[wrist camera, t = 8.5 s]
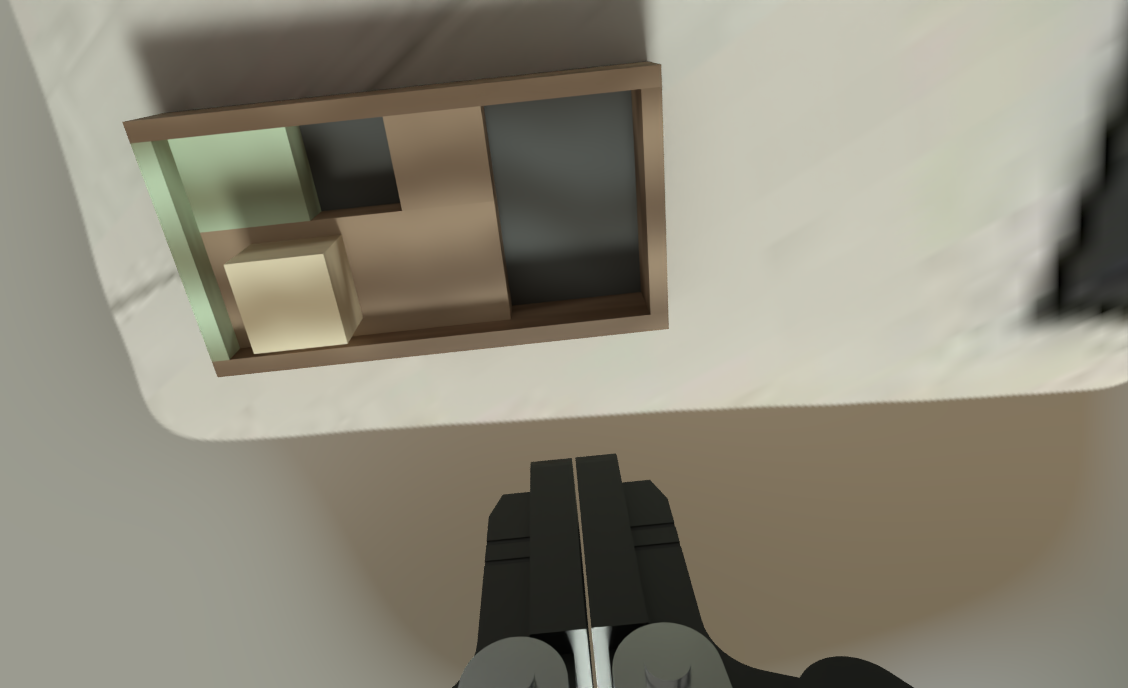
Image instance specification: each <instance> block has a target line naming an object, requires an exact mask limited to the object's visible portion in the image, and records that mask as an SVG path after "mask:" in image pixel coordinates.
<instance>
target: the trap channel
mask: <svg viewBox="0 0 1128 688" xmlns="http://www.w3.org/2000/svg"><path fill="white" fill-rule="evenodd" d="M123 125H124V128H125V130H126V133H127V136H128V138H129V141H130V144H131V147H132V149H133V152H134V155H135V157H136V160H137V163H138V165H139V168H140V171H141V173H142V176H143V179H144V181H145V184H146V187H147V189H148V192H149V195H150V197H151V200H152V203H153V205H154V208H155V211H156V213H157V216H158V219H159V221H160V224H161V227H162V229H163V232H164V235H165V237H166V240H167V243H168V245H169V248H170V251H171V253H172V256H173V259H174V261H175V264H176V267H177V269H178V272H179V275H180V278H181V280H182V283H183V286H184V288H185V291H186V294H187V296H188V299H189V302H190V304H191V307H192V310H193V312H194V315H195V318H196V320H197V323H198V326H199V328H200V331H201V334H202V336H203V339H204V342H205V344H206V347H207V350H208V352H209V355H210V358H211V360H212V363H213V366H214V368H215V371H216V374H217V376H218V377H224V376H234V375H243V374H252V373H262V372H271V371H280V370H290V369H299V368H308V367H317V366H327V365H336V364H345V363H355V362H364V361H373V360H383V359H392V358H401V357H411V356H420V355H429V354H439V353H448V352H457V351H467V350H476V349H485V348H495V347H504V346H513V345H523V344H532V343H541V342H551V341H560V340H569V339H579V338H588V337H597V336H606V335H616V334H625V333H634V332H644V331H653V330H662V329H669V323H668V288H667V253H666V218H665V183H664V148H663V113H662V78H661V64H657V63H652V62H648V61H646V62H637V63H628V64H618V65H609V66H600V67H590V68H581V69H572V70H562V71H553V72H544V73H534V74H525V75H516V76H506V77H497V78H488V79H478V80H469V81H459V82H450V83H441V84H431V85H422V86H413V87H403V88H394V89H385V90H375V91H366V92H357V93H347V94H338V95H329V96H319V97H310V98H300V99H291V100H282V101H272V102H263V103H254V104H244V105H235V106H226V107H216V108H207V109H198V110H188V111H179V112H170V113H162V114H158V115H153V116H148V117H144V118H139V119H134V120H130V121H125V122H123ZM340 234H342V238H343V242H344V246H345V250H346V253H347V257H348V261H349V265H350V269H351V273H352V277H353V281H354V285H355V289H356V293H357V297H358V301H359V305H360V308H361V312H362V316H363V319H362V320H361V322H360V324H359V325H358V327H357V329H356V330H355V332H354V334H353V335H352V337H351V339H350V341H349V342H348V344H341V345H332V346H323V347H314V348H305V349H295V350H286V351H277V352H268V353H259V354H254V352H253V349H252V346H251V344H250V341H249V338H248V335H247V332H246V329H245V326H244V323H243V320H242V317H241V314H240V312H239V309H238V306H237V303H236V300H235V297H234V294H233V291H232V288H231V285H230V282H229V279H228V277H227V274H226V271H225V268H224V264H225V263H227V262H228V261H229V260H231V259H232V258H233V257H235V256H236V255H237V254H239V253H240V252H241V251H243V250H244V249H245V248H247V247H248V246H249V245H251V244H258V243H267V242H276V241H285V240H295V239H304V238H313V237H322V236H331V235H340Z"/></svg>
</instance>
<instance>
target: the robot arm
mask: <svg viewBox="0 0 1128 688" xmlns="http://www.w3.org/2000/svg"><path fill="white" fill-rule="evenodd" d="M575 459H576V469H577V479H578V491H579V501H580V512H581V523H582V533H583V544H584V554H585V564H586V575H587V586H588V596H589V607H590V617H591V628H592V637H593V647H594V657H595V667H596V676H597V685H598V688H913V687H912V686H910V685H909V684H907V683H906V682H904V681H902V680H901V679H900V678H898V677H896V676H895V675H893V674H892V673H890V672H889V671H887V670H885V669H883V668H882V667H880V666H878V665H876V664H873V663H871V662H868V661H865V660H862V659H859V658H853V657H843V656H836V657H829V658H825V659H822V660H819V661H817V662H815V663H813V664H812V665H810V666H809V667H808V668H807V669H806V670H805V671H804V672H803V674H802V675H801V677H800V678H798V677H793V676H787V675H783V674H778V673H773V672H768V671H764V670H759V669H756V668H752V667H750V666H747V665H744V664H742V663H740V662H738V661H736V660H735V659H733V658H731V657H730V656H728V655H727V654H726V653H724V652H723V651H722V650H721V649H720V648H719V647H718V646H717V645H716V644H715V643H714V642H713V641H712V639H711V638H710V637H709V635H708V633H707V632H706V630H705V628H704V625H703V623H702V620H701V616H700V613H699V609H698V606H697V602H696V599H695V595H694V592H693V588H692V585H691V581H690V577H689V573H688V570H687V566H686V563H685V559H684V556H683V552H682V548H681V547H680V541H679V538H678V534H677V531H676V527H675V526H674V520H673V516H672V513H671V510H670V506H669V502H668V499H667V498H666V497H665V495H664V494H662V492H661V491H660V490H659V489H658V488H657V487H656V486H655V485H654V484H653V483H652V482H651V481H650V480H644V481H634V482H624V483H622V481H621V475H620V470H619V466H618V460H617V455H616V454H607V455H596V456H586V457H576V458H575ZM530 473H531V475H530V476H531V477H530V492H525V493H515V494H505V495H502V497H501V499H500V500H499V502H498V503H497V505H496V506H495V508H494V509H493V511H492V513H491V514H490V516H489V522H488V532H487V546H486V554H485V566H484V576H483V587H482V598H481V609H480V620H479V631H478V642H477V648H476V653H475V656H474V658H472V660H470V662H469V663H468V665H467V666H466V668H465V669H464V671H463V674H462V676H461V678H460V680H459V681H458V683H457V684H456V685H455V686H453V687H452V688H594V686H593V675H592V664H591V652H590V641H589V631H588V619H587V608H586V597H585V586H584V574H583V564H582V553H581V542H580V532H579V522H578V513H577V503H576V494H575V484H574V476H573V466H572V458H568V459H558V460H548V461H538V462H531V468H530Z"/></svg>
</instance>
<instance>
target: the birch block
mask: <svg viewBox="0 0 1128 688" xmlns="http://www.w3.org/2000/svg"><path fill="white" fill-rule="evenodd" d="M224 268H225V271H226V274H227V277H228V279H229V282H230V285H231V288H232V291H233V294H234V297H235V300H236V303H237V306H238V309H239V312H240V314H241V317H242V320H243V323H244V326H245V329H246V332H247V335H248V338H249V341H250V344H251V346H252V349H253V352H254V354H259V353H268V352H277V351H286V350H295V349H305V348H314V347H323V346H332V345H341V344H348V342H349V341H350V339H351V337H352V335H353V334H354V332H355V330H356V329H357V327H358V325H359V324H360V322H361V320H362V319H363V316H362V312H361V308H360V305H359V301H358V297H357V293H356V289H355V285H354V281H353V277H352V273H351V269H350V265H349V261H348V257H347V253H346V250H345V246H344V242H343V238H342V234H340V235H331V236H322V237H313V238H304V239H295V240H285V241H276V242H267V243H258V244H251V245H249V246H248V247H247V248H245V249H244V250H243V251H241V252H240V253H239V254H237V255H236V256H235V257H233V258H232V259H231V260H229V261H228V262H227V263H225V264H224Z"/></svg>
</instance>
